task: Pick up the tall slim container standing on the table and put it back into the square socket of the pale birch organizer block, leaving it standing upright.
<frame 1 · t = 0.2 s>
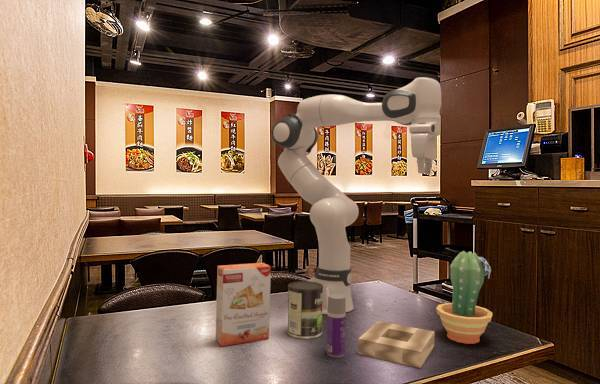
hand: (424, 173, 131), 48 cm above the table, tool pointing down, fingers open, 8 cm apart
coffee can: (304, 333, 122), on the table
container: (335, 354, 107), on the table
organizer block: (397, 349, 111), on the table
potted cactus: (463, 338, 120), on the table
cracker box: (242, 340, 115), on the table
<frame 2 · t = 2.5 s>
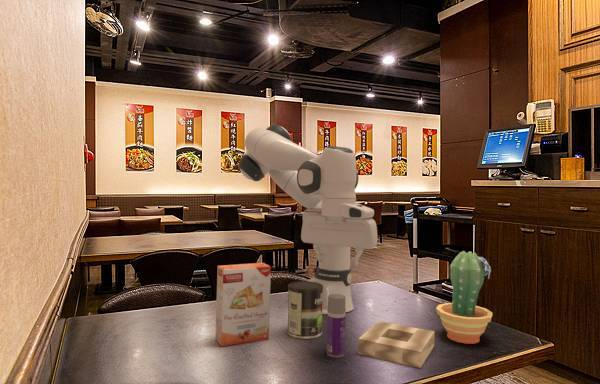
hand: (337, 263, 107), 24 cm above the table, tool pointing down, fingers open, 8 cm apart
nothing on the table moved.
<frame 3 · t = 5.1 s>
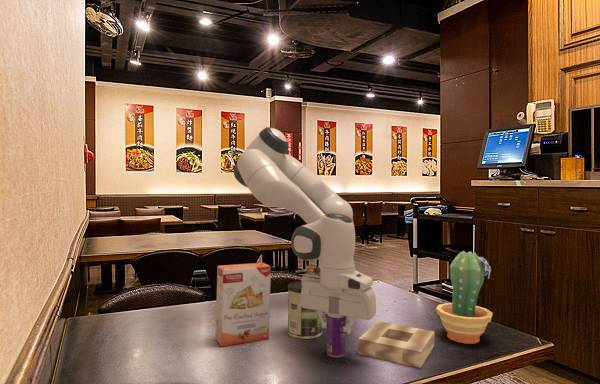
hand: (336, 330, 107), 6 cm above the table, tool pointing down, fingers closed on container, 5 cm apart
container: (335, 354, 107), on the table, touching gripper
everything else where it was.
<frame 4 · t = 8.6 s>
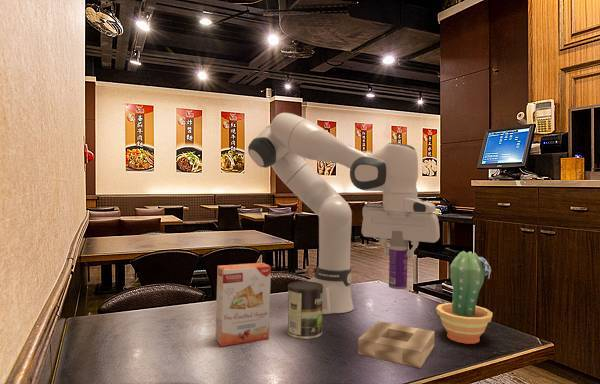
hand: (398, 256, 110), 25 cm above the table, tool pointing down, fingers closed on container, 5 cm apart
container: (397, 287, 110), point 17 cm above the table, touching gripper
everything else where it was.
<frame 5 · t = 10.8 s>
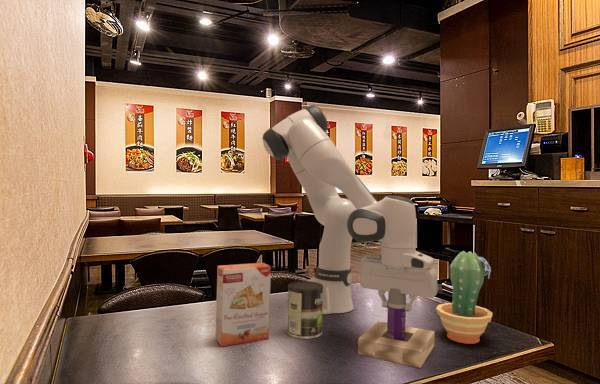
hand: (396, 309, 110), 11 cm above the table, tool pointing down, fingers closed on container, 5 cm apart
container: (395, 344, 110), point 2 cm above the table, touching gripper
everything else where it was.
when the fingers open (8 cm above the table, at t = 12.4 s): container stays where it is, resting in organizer block.
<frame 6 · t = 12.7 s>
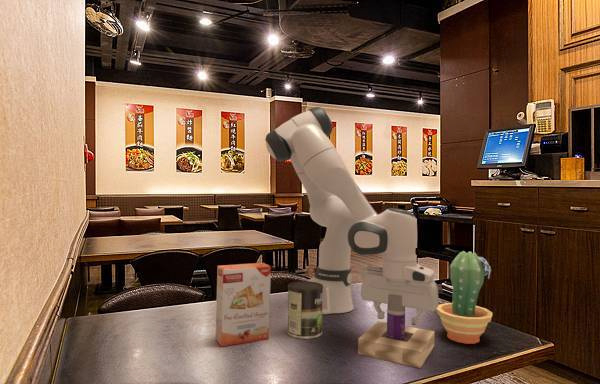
hand: (397, 321, 110), 8 cm above the table, tool pointing down, fingers open, 8 cm apart
container: (395, 350, 110), resting in organizer block
everything else where it was.
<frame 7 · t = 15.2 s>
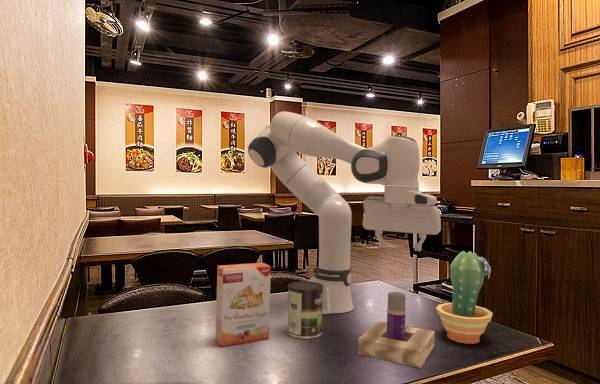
hand: (399, 249, 110), 27 cm above the table, tool pointing down, fingers open, 8 cm apart
nothing on the table moved.
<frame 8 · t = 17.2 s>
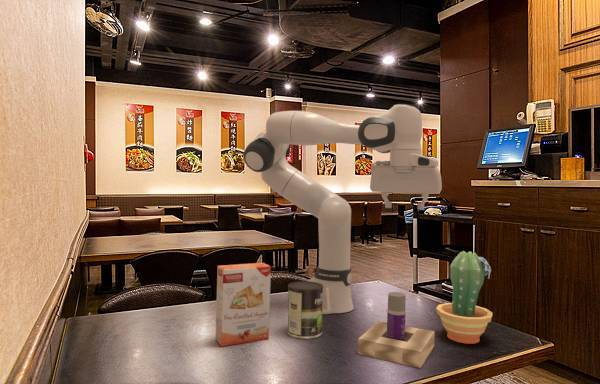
hand: (404, 208, 120), 37 cm above the table, tool pointing down, fingers open, 8 cm apart
nothing on the table moved.
at the end: container 0.6 cm off-centre on the organizer block, point 0.0 cm above the organizer block's base; container tilted 0°; the gripper is holding nothing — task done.
